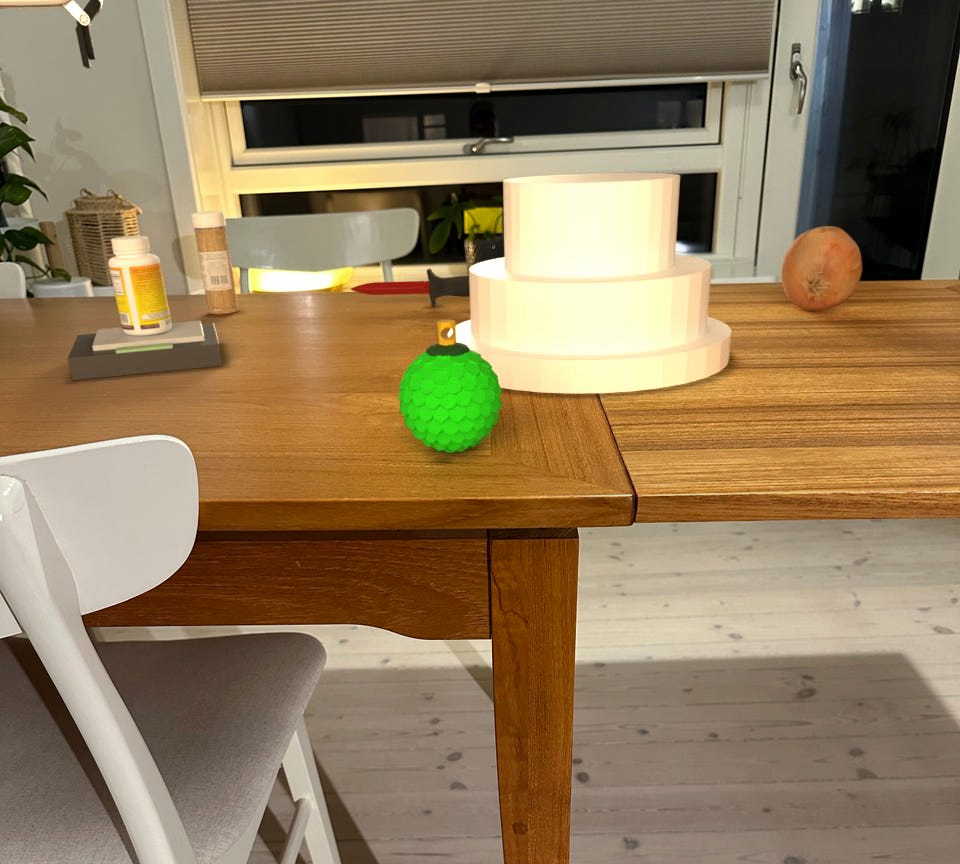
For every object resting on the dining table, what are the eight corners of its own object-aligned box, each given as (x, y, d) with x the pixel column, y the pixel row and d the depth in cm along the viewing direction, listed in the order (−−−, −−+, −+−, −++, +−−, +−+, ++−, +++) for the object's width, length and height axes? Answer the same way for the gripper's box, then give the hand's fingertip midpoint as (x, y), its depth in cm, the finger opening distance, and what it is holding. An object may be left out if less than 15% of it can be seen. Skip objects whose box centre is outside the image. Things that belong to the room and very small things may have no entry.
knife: (514, 302, 137) (514, 265, 134) (514, 304, 135) (513, 267, 133) (352, 306, 139) (348, 270, 137) (350, 308, 138) (346, 271, 136)
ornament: (494, 432, 80) (490, 308, 76) (511, 461, 73) (508, 327, 69) (398, 440, 79) (388, 315, 75) (406, 470, 72) (396, 335, 68)
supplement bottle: (181, 327, 113) (164, 234, 108) (159, 337, 108) (140, 239, 103) (137, 327, 114) (118, 235, 109) (114, 337, 109) (93, 241, 104)
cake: (478, 405, 88) (470, 193, 80) (429, 342, 114) (419, 178, 106) (780, 378, 93) (802, 175, 84) (667, 324, 119) (676, 165, 110)
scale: (72, 380, 104) (66, 352, 102) (82, 355, 116) (76, 329, 114) (222, 365, 107) (218, 338, 106) (216, 342, 119) (212, 317, 118)
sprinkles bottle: (242, 309, 141) (227, 209, 135) (235, 314, 137) (219, 212, 131) (211, 310, 141) (195, 211, 135) (203, 315, 137) (186, 214, 131)
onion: (852, 303, 126) (864, 221, 121) (859, 317, 118) (872, 229, 113) (776, 303, 128) (784, 223, 124) (777, 317, 120) (786, 231, 115)
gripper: (-96, -129, 96) (-45, 69, 104) (85, -126, 100) (121, 64, 108) (-80, -113, 102) (-33, 73, 110) (90, -110, 106) (123, 68, 114)
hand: (43, 68), depth 109 cm, fingers open, 9 cm apart
